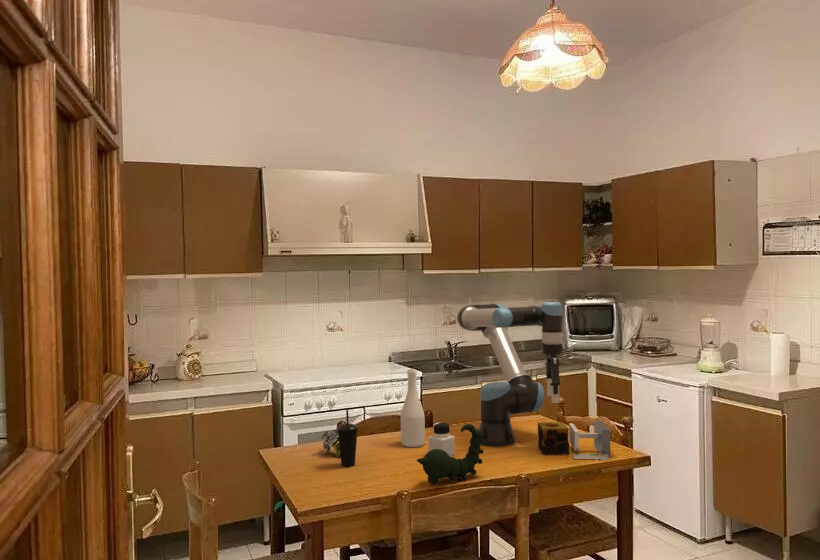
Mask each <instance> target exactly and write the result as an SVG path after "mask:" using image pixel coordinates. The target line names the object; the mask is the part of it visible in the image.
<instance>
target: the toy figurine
mask: <svg viewBox="0 0 820 560" xmlns="http://www.w3.org/2000/svg"><path fill="white" fill-rule="evenodd" d="M459 431H460V432H461V433H463V432H464V431H468V432H469V433H471V437H470V439H469V444H470V445H469V446H468V448H467V451H468V452H466V454H465V457H463V458H455V457H454V456H449V455H448V454H447V453H446V452H445V451H443V450H441V449H433V450H431V451H429V450H428V452H426V453H425V455H424V456H423V457H420V458H417V459H416V462H418V463H419V464H420V465H422V471H424V473H425V475H427V482H428V483H429V484H430V485H432V486H435V485H438V484H439V481H440V480H441V479H444V478H445V479H446V478H447V479H448V480H449V481H450V482H452V483H454V482H456V481H457V480H458V479H461V480H462V481H467V480H468V476H467V475H468V474H470V475H471V476H475V475H477V470H476V469H475V466H476V465H477V464H478V465H482V464H483V459H482V458H480V455H483V454H484V449H481V446H484V445H483V444H484V441H482V440H481V437H483V436H484V434H483V433H481V431H480V430H479V428H478V429H476V427H475V425H474V424H471V423H466V424H464V425H463V426H461V428H460V430H459Z"/></svg>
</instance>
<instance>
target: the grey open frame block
mask: <svg viewBox="0 0 820 560" xmlns="http://www.w3.org/2000/svg"><path fill="white" fill-rule="evenodd" d="M593 433H598V438H593V440H594V441H593V442H594V443H593V446H594V448H595V449H596V451H597V452H598V453H573V456H572V457H573V460H574V459H595V461H599V460H598V459H601V460H600V461H608V460H609V458H611V429H610V428H609V427H608V426H607V425H606V423H604V421H603V420H593ZM599 453H600V454H599Z"/></svg>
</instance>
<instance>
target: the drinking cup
mask: <svg viewBox="0 0 820 560" xmlns="http://www.w3.org/2000/svg"><path fill="white" fill-rule="evenodd" d="M345 415H346V416H345V418H346V419H345V421H346V423H342V424H340V425H338V426H336V429H337V430H338V438H339V441H338V443H339V447H340V455H339V458H340V464H341V467H343V466H344V468H350V466H352V467H354V466H355V465H356V454H357V441H358V430H359V426H358V425H356V424H354V423H350V422H349V408H347V409H346V412H345Z"/></svg>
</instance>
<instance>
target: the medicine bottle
mask: <svg viewBox="0 0 820 560" xmlns="http://www.w3.org/2000/svg"><path fill="white" fill-rule="evenodd" d="M432 427H433V428H432V429H433V431H432V432H433V435H430V436H428V452H429V451H431V450H433V449H441V450H443V451H445V452H446V453H447V454H448V455H449V456H450V457H454V456H455V455H456V452H455V451H456V445H455V441H456V439H455V436H454V435H450V432H451V430H450V428H451V427H450V423H447V422H445V421H444V422H436V423H435V422H434V424H433V426H432Z"/></svg>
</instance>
